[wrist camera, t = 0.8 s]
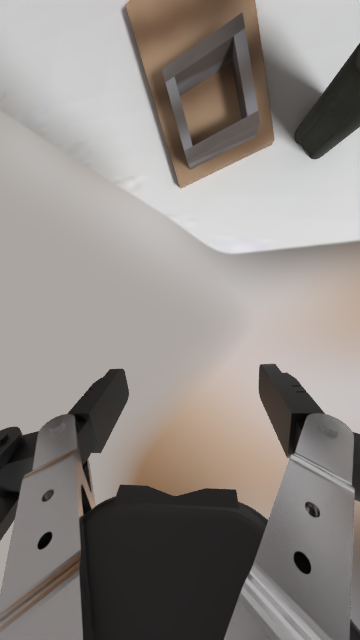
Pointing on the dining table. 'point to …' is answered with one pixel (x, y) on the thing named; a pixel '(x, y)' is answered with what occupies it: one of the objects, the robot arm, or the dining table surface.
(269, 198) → the dining table surface
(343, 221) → the dining table surface
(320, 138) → the white and black bottle
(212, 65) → the holder board
